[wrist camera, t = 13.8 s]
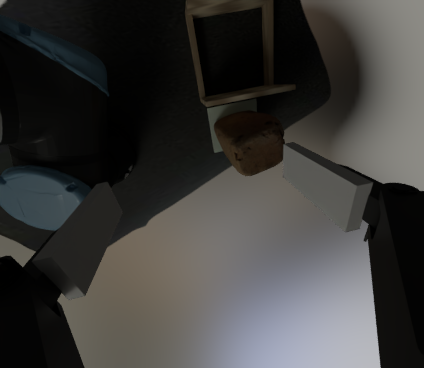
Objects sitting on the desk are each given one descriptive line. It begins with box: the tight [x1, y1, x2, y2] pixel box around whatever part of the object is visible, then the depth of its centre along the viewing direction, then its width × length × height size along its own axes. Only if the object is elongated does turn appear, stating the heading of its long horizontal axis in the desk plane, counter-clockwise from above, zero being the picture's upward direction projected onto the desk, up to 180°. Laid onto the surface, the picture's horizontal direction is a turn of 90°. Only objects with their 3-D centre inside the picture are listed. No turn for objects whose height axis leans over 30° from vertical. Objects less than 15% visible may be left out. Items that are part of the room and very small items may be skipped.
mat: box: [207, 99, 257, 152], centre depth 47 cm, size 12×11×1 cm
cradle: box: [185, 0, 295, 107], centre depth 35 cm, size 16×16×12 cm
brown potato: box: [214, 110, 285, 176], centre depth 38 cm, size 11×8×20 cm
